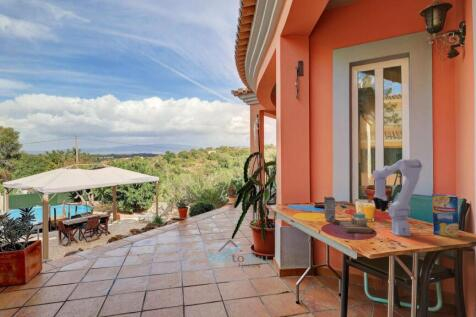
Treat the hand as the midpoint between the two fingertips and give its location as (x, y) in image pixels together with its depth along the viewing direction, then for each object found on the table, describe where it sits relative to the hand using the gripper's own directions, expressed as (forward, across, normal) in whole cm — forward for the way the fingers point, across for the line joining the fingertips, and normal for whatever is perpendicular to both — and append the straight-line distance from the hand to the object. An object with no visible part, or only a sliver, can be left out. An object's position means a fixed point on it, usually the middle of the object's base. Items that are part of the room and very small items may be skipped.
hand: (380, 210), depth 162 cm
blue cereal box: (+11, -16, -28) cm, 34 cm away
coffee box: (+11, +18, +28) cm, 34 cm away
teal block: (+4, -4, +14) cm, 15 cm away
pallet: (+8, -4, +15) cm, 17 cm away
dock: (+10, -5, +18) cm, 21 cm away
